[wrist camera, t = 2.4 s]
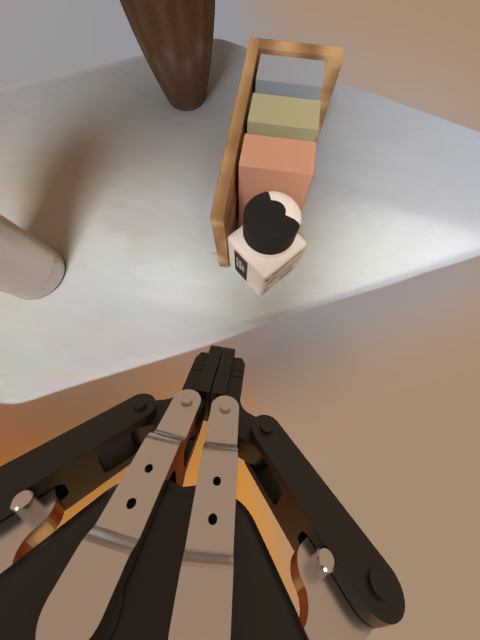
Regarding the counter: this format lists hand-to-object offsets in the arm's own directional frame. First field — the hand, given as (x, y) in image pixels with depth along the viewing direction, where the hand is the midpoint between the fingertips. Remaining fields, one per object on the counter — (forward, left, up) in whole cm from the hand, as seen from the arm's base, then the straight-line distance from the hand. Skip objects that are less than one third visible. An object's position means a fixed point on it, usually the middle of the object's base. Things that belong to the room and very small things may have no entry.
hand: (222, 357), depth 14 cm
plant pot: (-18, +52, -20) cm, 58 cm away
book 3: (+2, +26, -20) cm, 32 cm away
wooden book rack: (+2, +31, -19) cm, 36 cm away
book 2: (+2, +33, -20) cm, 38 cm away
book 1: (+2, +40, -20) cm, 45 cm away
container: (+2, +17, -20) cm, 26 cm away
